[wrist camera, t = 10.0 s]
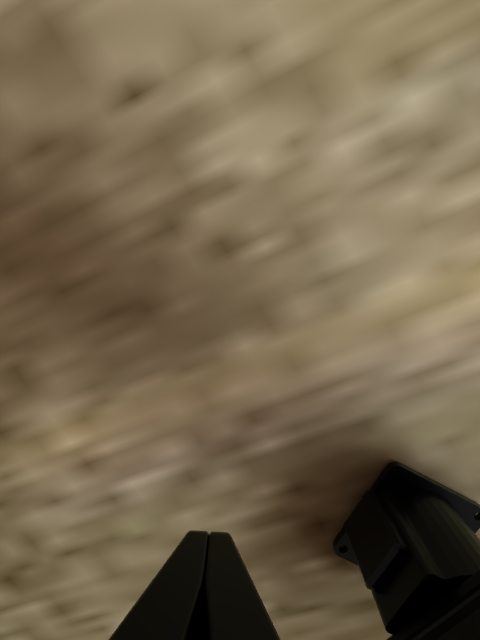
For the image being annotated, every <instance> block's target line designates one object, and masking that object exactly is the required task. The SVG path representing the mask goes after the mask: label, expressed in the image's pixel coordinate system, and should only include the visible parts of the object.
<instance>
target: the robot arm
mask: <svg viewBox="0 0 480 640" xmlns="http://www.w3.org/2000/svg"><path fill="white" fill-rule="evenodd" d="M395 470H399V471H398V472H397V473H396V474H392V473H393V472H394V471H395ZM476 513H478V514H477V515H475V514H476ZM479 528H480V505H479V504H477V503H475V502H473V501H471V500H469V499H467V498H465V497H464V496H462V495H460V494H458V493H456V492H454V491H452V490H450V489H448V488H446V487H444V486H443V485H441V484H439V483H437V482H435V481H433V480H431V479H429V478H427V477H425V476H423V475H421V474H420V473H418V472H416V471H414V470H412V469H410V468H408V467H406V466H404V465H402V464H400V463H398V462H391V463H389V464H388V465H387V466H386V468H385V469H384V470H383V472H382V473H381V475H380V476H379V477H378V479H377V480H376V482H375V483H374V485H373V486H372V487H371V489H370V490H369V491H368V492H366V494H365V495H364V497H363V498H362V500H361V501H360V502H359V504H358V505H357V507H356V508H355V509H354V511H353V512H352V514H351V515H350V517H349V518H348V519H347V521H346V522H345V526H344V527H343V528H342V530H341V531H340V533H339V534H338V536H337V537H336V538H335V540H334V542H333V547H334V551H335V553H336V554H337V555H338V556H340V557H342V558H344V559H346V560H348V561H350V562H353V563H355V564H357V565H359V568H360V571H361V573H362V576H363V579H364V582H365V585H366V587H367V588H368V589H370V590H371V591H372V594H373V597H374V599H375V602H376V605H377V607H378V610H379V613H380V615H381V618H382V621H383V624H384V626H385V629H386V631H387V632H388V633H390V634H392V636H391V637H389V638H388V639H387V640H480V539H479V538H478V537H477V535H476V534H475V533H476V532H477V531H478V529H479ZM343 545H344V547H342V548H340V546H343ZM109 640H280V638H279V636H278V634H277V632H276V630H275V627H274V625H273V623H272V621H271V619H270V617H269V615H268V613H267V611H266V609H265V606H264V604H263V602H262V600H261V598H260V596H259V594H258V592H257V590H256V588H255V585H254V583H253V581H252V579H251V577H250V575H249V573H248V571H247V569H246V567H245V564H244V562H243V560H242V558H241V556H240V554H239V552H238V550H237V548H236V546H235V543H234V541H233V539H232V537H231V535H230V534H229V533H227V532H211V533H210V534H208V532H206V531H189V532H188V533H187V534H186V535H185V537H184V538H183V539H182V541H181V542H180V544H179V545H178V546H177V548H176V549H175V550H174V552H173V553H172V554H171V556H170V557H169V558H168V560H167V561H166V563H165V564H164V565H163V567H162V568H161V569H160V571H159V572H158V573H157V575H156V576H155V577H154V579H153V580H152V582H151V583H150V584H149V586H148V587H147V588H146V590H145V591H144V592H143V594H142V595H141V596H140V598H139V599H138V601H137V602H136V603H135V605H134V606H133V607H132V609H131V610H130V611H129V613H128V614H127V615H126V617H125V618H124V620H123V621H122V622H121V624H120V625H119V626H118V628H117V629H116V630H115V632H114V633H113V634H112V636H111V637H110V639H109Z"/></svg>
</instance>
